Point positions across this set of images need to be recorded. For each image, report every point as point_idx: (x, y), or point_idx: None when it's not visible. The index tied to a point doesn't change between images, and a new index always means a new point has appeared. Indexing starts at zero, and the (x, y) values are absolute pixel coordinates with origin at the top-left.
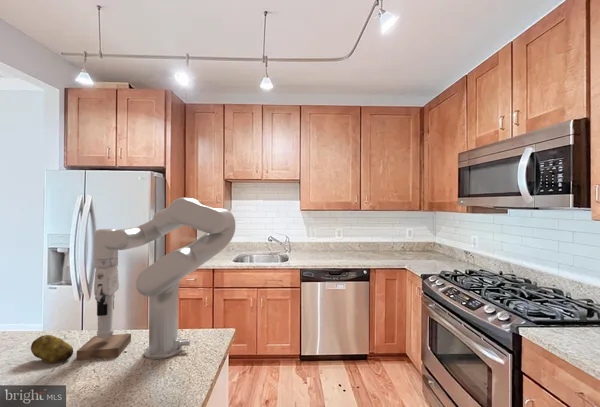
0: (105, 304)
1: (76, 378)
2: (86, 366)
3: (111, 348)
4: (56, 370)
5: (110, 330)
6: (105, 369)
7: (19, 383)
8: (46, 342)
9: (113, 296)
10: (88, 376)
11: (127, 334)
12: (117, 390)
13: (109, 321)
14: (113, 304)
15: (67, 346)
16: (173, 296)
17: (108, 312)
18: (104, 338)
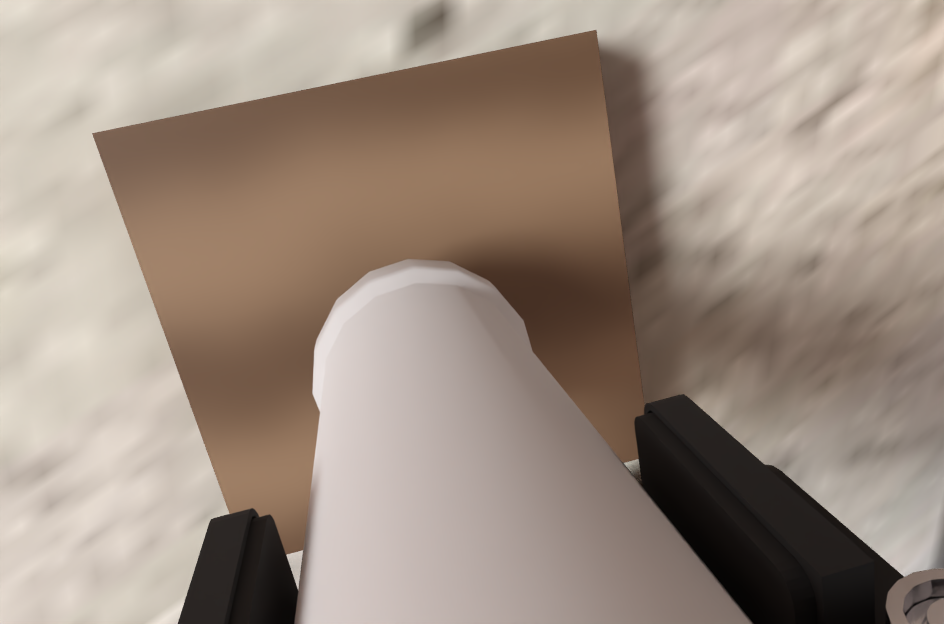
0: (932, 572)
1: (936, 180)
2: (741, 241)
3: (601, 116)
4: (781, 439)
5: (451, 282)
6: (821, 10)
7: (927, 534)
8: None
9: None
10: (922, 95)
11: (137, 167)
12: None
13: (505, 337)
14: (228, 602)
15: None
16: None
17: (585, 431)
18: (309, 397)
